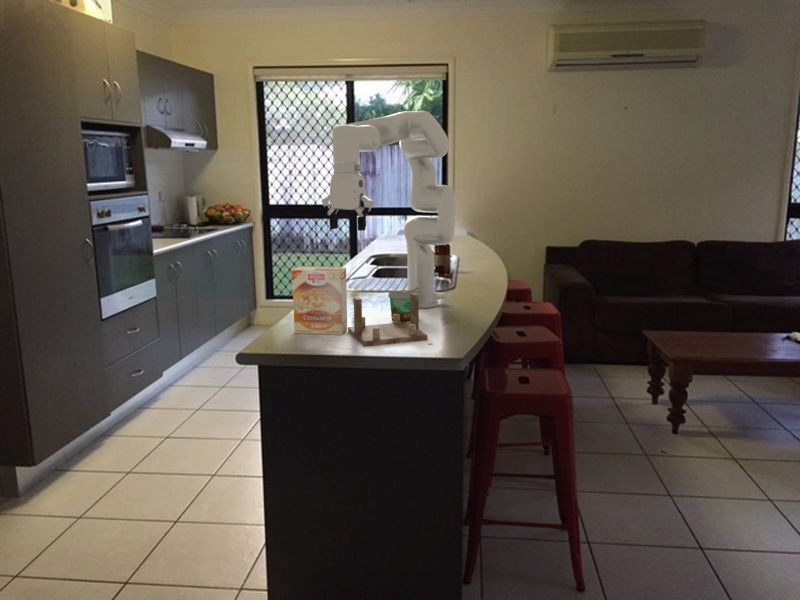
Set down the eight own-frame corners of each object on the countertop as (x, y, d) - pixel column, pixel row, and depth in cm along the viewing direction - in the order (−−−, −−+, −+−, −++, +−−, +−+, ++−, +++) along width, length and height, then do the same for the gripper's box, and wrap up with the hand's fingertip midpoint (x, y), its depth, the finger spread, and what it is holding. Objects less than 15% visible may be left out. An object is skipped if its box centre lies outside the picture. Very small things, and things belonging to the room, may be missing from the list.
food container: (400, 325, 209) (400, 294, 207) (388, 321, 214) (387, 291, 212) (429, 319, 217) (429, 289, 215) (417, 315, 221) (417, 286, 219)
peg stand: (406, 326, 207) (406, 288, 205) (427, 340, 191) (427, 299, 189) (348, 332, 201) (347, 293, 198) (364, 346, 185) (363, 304, 183)
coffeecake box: (293, 333, 199) (291, 269, 195) (300, 327, 206) (298, 265, 202) (342, 335, 197) (340, 270, 193) (347, 329, 204) (346, 266, 200)
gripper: (379, 169, 188) (379, 229, 192) (329, 169, 197) (331, 227, 200) (364, 169, 182) (365, 232, 186) (314, 169, 191) (316, 229, 194)
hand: (347, 229), depth 193 cm, fingers open, 9 cm apart
